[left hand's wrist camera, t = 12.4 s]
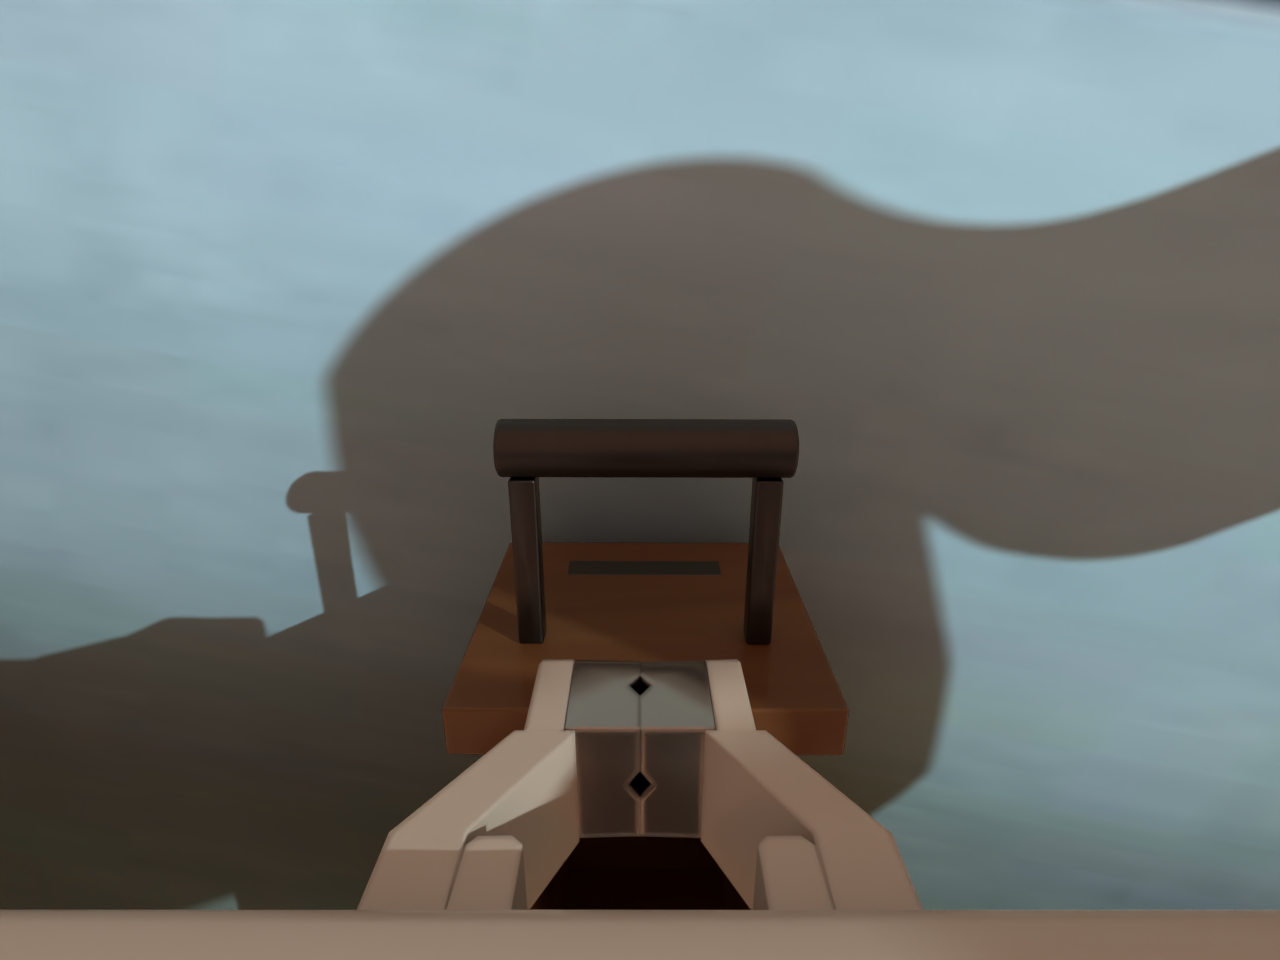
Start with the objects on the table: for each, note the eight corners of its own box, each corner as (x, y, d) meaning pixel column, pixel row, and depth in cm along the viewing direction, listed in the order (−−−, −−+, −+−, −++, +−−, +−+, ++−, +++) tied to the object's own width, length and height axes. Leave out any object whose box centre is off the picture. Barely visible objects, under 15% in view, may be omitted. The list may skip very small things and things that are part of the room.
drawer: (497, 369, 20) (410, 458, 12) (791, 370, 20) (883, 460, 12) (531, 858, 26) (487, 1111, 19) (753, 859, 26) (798, 1112, 19)
